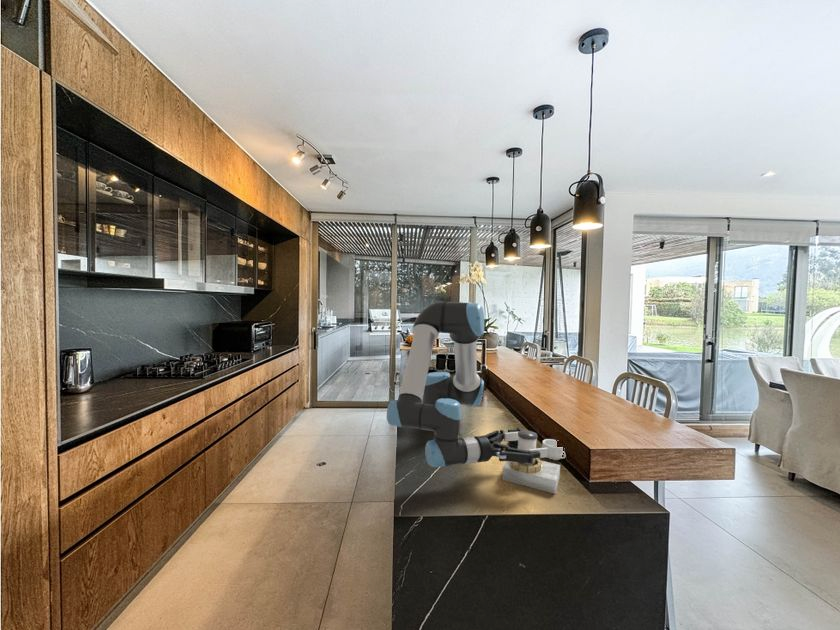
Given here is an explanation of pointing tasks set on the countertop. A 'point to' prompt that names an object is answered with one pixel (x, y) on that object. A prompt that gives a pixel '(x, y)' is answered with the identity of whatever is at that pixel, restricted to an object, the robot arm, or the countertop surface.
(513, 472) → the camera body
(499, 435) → the robot arm
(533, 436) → the telephoto lens
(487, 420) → the countertop surface
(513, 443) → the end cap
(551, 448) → the teacup
